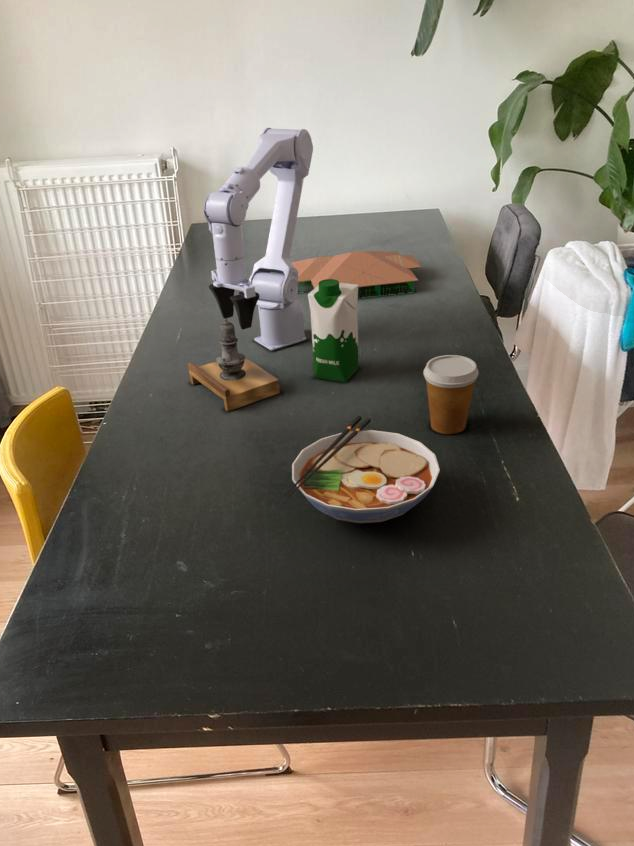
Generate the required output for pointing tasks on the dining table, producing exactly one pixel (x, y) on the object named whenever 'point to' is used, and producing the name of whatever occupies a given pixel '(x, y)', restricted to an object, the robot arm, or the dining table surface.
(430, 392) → the disposable coffee cup
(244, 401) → the shelf stand
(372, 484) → the ramen bowl
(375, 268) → the house
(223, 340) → the grey stone finial
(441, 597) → the dining table surface
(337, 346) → the milk carton
